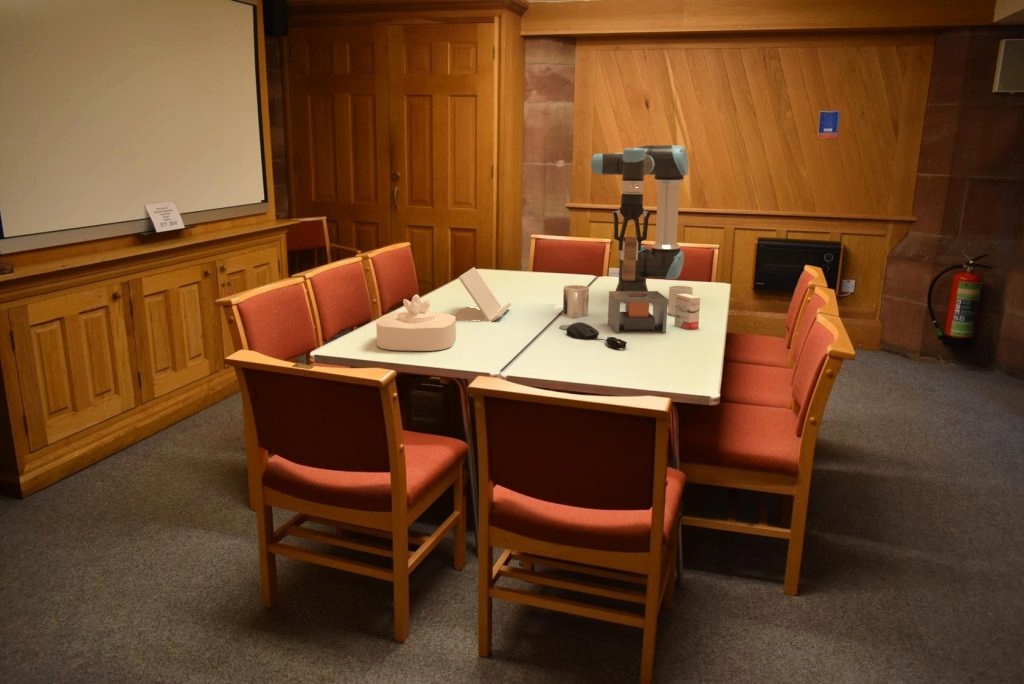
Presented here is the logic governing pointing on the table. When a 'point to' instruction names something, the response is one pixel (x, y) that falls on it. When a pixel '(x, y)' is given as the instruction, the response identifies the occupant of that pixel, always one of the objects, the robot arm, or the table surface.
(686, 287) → the mug
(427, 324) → the pink flower lid box
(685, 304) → the ink box
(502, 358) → the table surface
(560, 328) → the coaster
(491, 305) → the tablet stand
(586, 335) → the computer mouse
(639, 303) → the breaker button
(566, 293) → the mug
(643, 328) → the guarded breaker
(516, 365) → the table surface
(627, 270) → the walnut block
